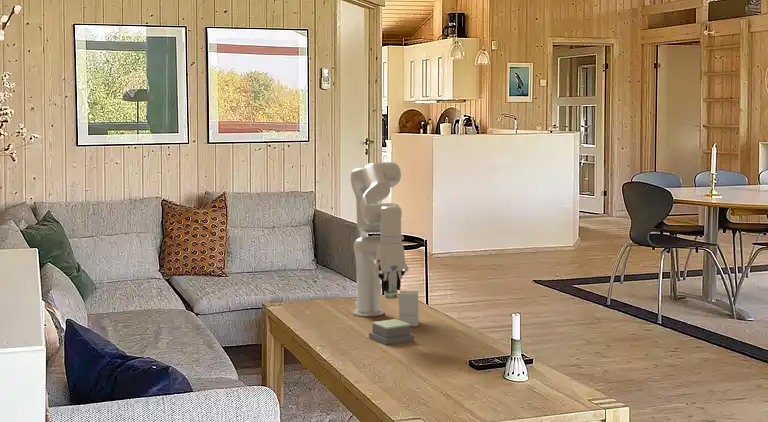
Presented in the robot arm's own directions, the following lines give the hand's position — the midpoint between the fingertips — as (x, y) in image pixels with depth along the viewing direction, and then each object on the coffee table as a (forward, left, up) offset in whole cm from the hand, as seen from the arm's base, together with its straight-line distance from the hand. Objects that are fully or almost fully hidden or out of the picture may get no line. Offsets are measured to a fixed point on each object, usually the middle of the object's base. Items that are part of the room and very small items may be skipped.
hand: (391, 289), depth 352 cm
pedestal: (0, 0, -18) cm, 18 cm away
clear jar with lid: (0, 0, -3) cm, 3 cm away
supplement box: (-17, +18, -19) cm, 31 cm away
